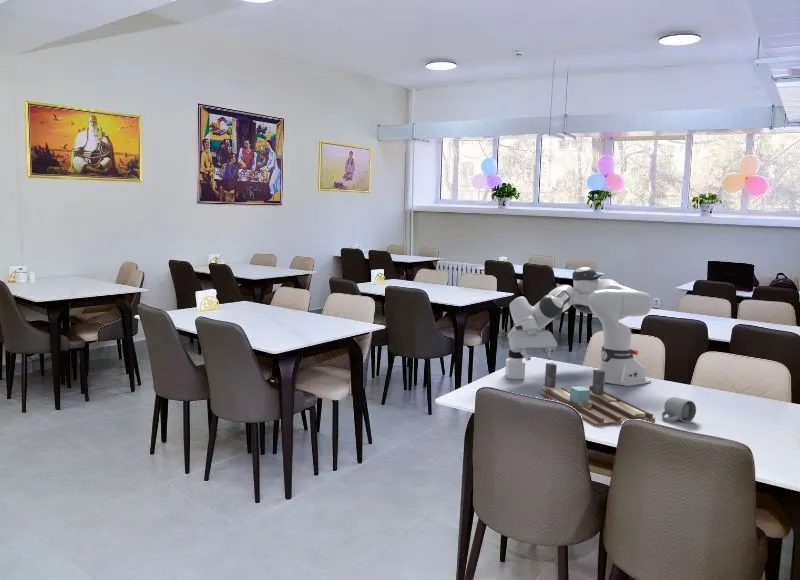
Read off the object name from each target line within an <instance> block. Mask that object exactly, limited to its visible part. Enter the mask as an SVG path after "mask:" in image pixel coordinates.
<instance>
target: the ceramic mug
mask: <svg viewBox="0 0 800 580" xmlns="http://www.w3.org/2000/svg"><path fill="white" fill-rule="evenodd" d="M696 413H697V406H696V404H695V402H694V400H689V399H686V398H681V397H678V396H671V397H669V398H668V399H666V401H665V403H664V411H662V413H661V419H662V420H663V421H665V422H675V421H680V422H683V423H690V422H692V421H693V420H694V418H695V417H696ZM666 415H668V416H669V417H666Z"/></svg>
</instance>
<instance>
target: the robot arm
mask: <svg viewBox="0 0 800 580" xmlns="http://www.w3.org/2000/svg"><path fill="white" fill-rule="evenodd" d="M571 276H572V278H571V279H572V280H573V281H572V282H573V283H572V284H573V286H572V285H569V284H562V285H559V286H556V287H555V288H554V289H552V290H550V291H549V293H548V294H546V295H544V296H543V297H542V298H541V299H540V300H539V301H538V302H537V303H535V305H533V306H532V305H531V304H530V303H529V301H528V299H527V298H526V297H525V296H517V297H515V298H514V299H513V300H512V301H511V302H509V312H510V314H511V318H512V320H513V322H514V324H515V326H513V327H512V328H511V329H510V331H509V332H508V333H507V338H508V344H509V348H510V349H511V350H512V351H513V352H521V354H522V355H523V358H525V361H527V362H528V361H530V360H532V357H531V355H530V354H528V353H529V352H544V351H545V352H546V353H547V354H546V355H545V359H546V360H552V355H551V352H552V351H554V350H556V348H557V347H558V342H557V340H556V339H555V336H554V335H553V333H552V332H551V331H550V330H548V329H543V328H544V327H546V326H547V325H548V324H549V323H551V322H552V321H553V320H555V318H557V317H559V316H561V314H563V313H564V312H565V311H566V310H567V311H568V309H569V308H570V307H571V306H572V305H573V308H574V309H576V310H577V311H579V312H581V313H583V314H594V315H595V316H596V317H597V318H598V320H599V321H600V323H601V325H602V332H603V333H602V334H603V342H602V343H603V345H602V346H601V351H600V352H601V363H600V366H599V370H603V371H605V379H604V383H608V384H612V385H621V386H624V387H625V386H626V387H629V386H637V385H643V384H651V383H652V380H651V378H649V377H647V375H646V368H645V366H644V365H642V363H640V362H639V361H638V360H637V359H636V358H635V357H634V356H638V355H639V350H636V349H632V348H631V346H632V345H631V344H632V331H631V329H630V328H629V327H628V326H627V325H626V324H623V323H622V322H620V321H619V317H634V318H635V317H642V316H647V315H648V314H649V313H651V312H650V311H652V308H653V300H652V297H651V296H650V294H649V293H647V292H645V291H640V290H638V289H634V288H630V287H627V286H625V285H624V286H623V285H621V284H620V283H619V282H618V281H616V280H614V279H611V278H603V279H601V278H599V276H600V273H599V272H596V271H595V269H594V268H591V267H589V266H588V267H587V266H582V267H579V268H576V269H575V270H574V271H572V274H571ZM527 352H528V353H527Z"/></svg>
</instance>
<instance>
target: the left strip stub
mask: <svg viewBox="0 0 800 580" xmlns="http://www.w3.org/2000/svg"><path fill="white" fill-rule="evenodd" d="M592 371H593V374H592V385H591V386H592V393H591V394H593V395H596V396H598V397H600V398H602V399H604V400H606V401H608V402H617V400H616V399H614V398H612V397H610V396H608V395H606V394H604V391H605V382H604V379H605V371H603V370H600V369H593V370H592Z"/></svg>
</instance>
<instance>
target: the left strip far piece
mask: <svg viewBox="0 0 800 580" xmlns="http://www.w3.org/2000/svg"><path fill="white" fill-rule="evenodd" d="M610 403H612V404H614V405H616V406H618V407H620V408H622V409H624V410H626V411H628V412H630V413H632V414H634V415H636V417H645V416H646V413H644V412H642V411H640V410H638V409H635V408H633V407H631V406H629V405H627V404H625V403H623V402H621V401H619V402H610Z"/></svg>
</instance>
